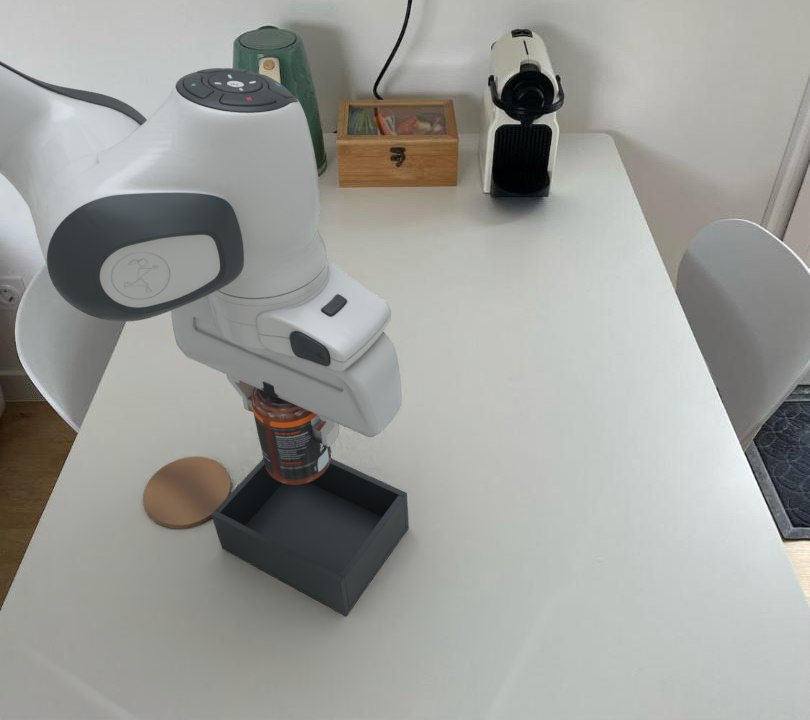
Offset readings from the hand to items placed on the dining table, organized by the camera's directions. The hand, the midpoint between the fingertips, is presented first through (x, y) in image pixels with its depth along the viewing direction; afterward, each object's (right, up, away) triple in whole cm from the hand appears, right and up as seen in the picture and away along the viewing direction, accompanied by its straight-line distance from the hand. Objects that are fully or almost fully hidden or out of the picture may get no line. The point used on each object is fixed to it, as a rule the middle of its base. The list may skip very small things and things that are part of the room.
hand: (292, 423), depth 69 cm
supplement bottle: (0, -4, +4) cm, 5 cm away
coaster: (-13, -9, +16) cm, 23 cm away
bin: (+1, -12, +11) cm, 17 cm away
